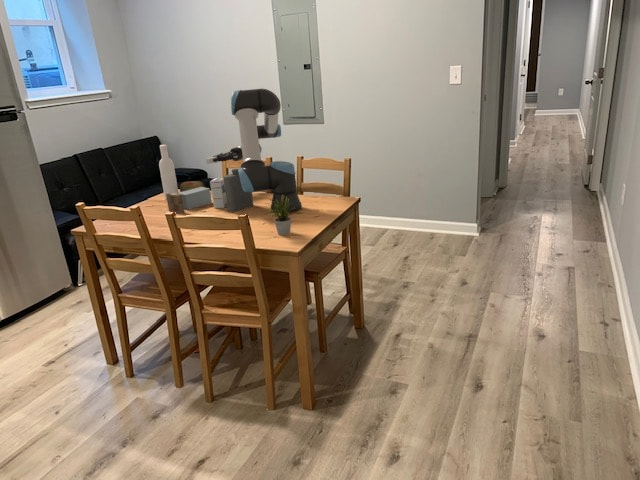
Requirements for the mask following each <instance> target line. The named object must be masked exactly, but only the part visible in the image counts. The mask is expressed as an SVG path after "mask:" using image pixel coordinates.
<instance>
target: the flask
mask: <svg viewBox="0 0 640 480" xmlns="http://www.w3.org/2000/svg"><path fill="white" fill-rule="evenodd" d="M238 169H239V168H232V169H231V173H230V174H227V175H224V176H223V177H222V178H223V180H224V187H225V195H226V202H227V206H226V208H227V212H228V213H235V212H238V211H240V210H243V209H246V208H252V207H253V206H254V200H253V192H244V191H243V189H242V185H241V181H240V177H239V173H238Z"/></svg>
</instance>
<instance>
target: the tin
mask: <svg viewBox="0 0 640 480" xmlns="http://www.w3.org/2000/svg"><path fill="white" fill-rule="evenodd" d="M199 187H204V188H206V186H205V184H204V183H203V182H201V181H200V180H199V181H197V180H196V181H195V180H194V181H183V182H182V183H181V184H180V186H179V192H183V191H187V190H191V189H195V188H199Z"/></svg>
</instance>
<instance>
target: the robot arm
mask: <svg viewBox="0 0 640 480" xmlns="http://www.w3.org/2000/svg"><path fill="white" fill-rule="evenodd" d="M230 104H231V107H230V108H231V109H230V111H231V115H232V116H234V118H235V119H236V120H237V121H238V126H239V133H240V134H239V135H240V137H239V138H240V145H239V146H236V147H232V148H231V149H230V151H226V152H225V153H224V152H221V153H219V154H216V155H213V156H212V157H208V158H205V161H206V165H210V164H214V163H217V162H222V163H223V162H227V161H231V160H232V161H234V162H239V161H243V162H241V164H240V167H239V168H237V169H238V173H239V177H240V181H241V185H242V189H243V191H244V192H252V193H255V192H265V191H272V198H271V200H272V201H274V202H275V203H276V200H277V201H278V202H279V204H280V205H281V197H282V195H283V197H284V196H285V197H284V199H283V207H284V206H285V200H286V197H287V201H288V199H289V202H288V204H289V203H290V204H291V203H292V204H291V205H290V204H289V208H288V210H287V212H289V213H288V214H291V213H296V212H300V211H301V210H302V209H303V206H302V202H301V201H300V200H301V199H300V197H299V195H298V190H297V181H296V180H297V179H296V170H295V165H294V164H293V163H291V162H290V161H289V162H288V161H282V160H278V161H277V160H275V161H271V162H269V165H266V163H265V162H264V160H262V156H261V154H262V149H263V148H262V147H261V144H260V140H263V139H273V138H280V137H282V127H281V125H280V123H279V113H280V111H281V107H282V104H281V101H280V99H279V97H278V96H277V95H276V94H275V92H273V91H272V90H269V89H266V88H256V89H255V88H254V89H243V90H242V89H239V90H234V91H233V92H231V98H230ZM262 113H263V117H264V121H263V124H264V125H263V124H262V125H258V124H257V118H259V114H262ZM272 201H271V203H270V205H271V206H270V210H271V209H272V210H277V209H276V208H275V205H274V203H273V202H272ZM276 204H277V203H276ZM286 204H287V203H286ZM272 206H273V207H274V208H275V209H274V208H273V207H272ZM293 208H296V209H293ZM291 209H292V210H291ZM290 210H291V211H290ZM275 213H276V212H275ZM275 213H274V212H272V214H275ZM276 214H277V213H276Z"/></svg>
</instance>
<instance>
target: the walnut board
mask: <svg viewBox="0 0 640 480" xmlns="http://www.w3.org/2000/svg"><path fill="white" fill-rule="evenodd" d="M166 197H167V200H166V201H167V202H166V203H167V207H168V211H170V212H174V211H175V212H174V213H179V214H181V213H185V209H184V207H183V201H182V195H181V194H175V193H167V194H166Z"/></svg>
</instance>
